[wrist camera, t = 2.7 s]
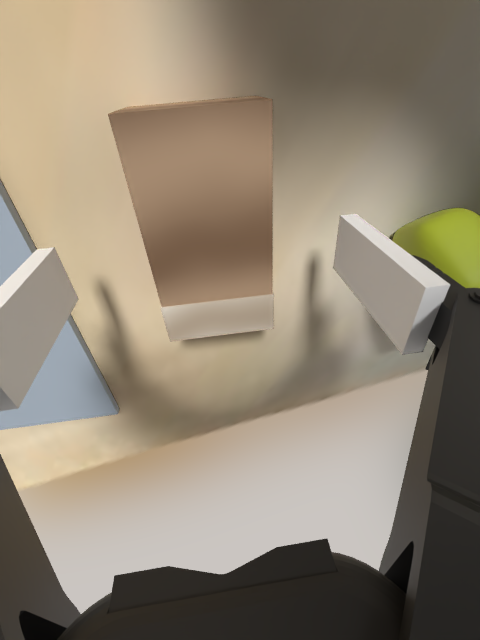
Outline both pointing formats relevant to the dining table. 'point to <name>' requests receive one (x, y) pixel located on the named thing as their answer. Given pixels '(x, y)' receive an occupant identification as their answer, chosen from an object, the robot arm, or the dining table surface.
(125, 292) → the dining table surface
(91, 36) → the dining table surface
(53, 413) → the slate mat
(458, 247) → the dumbbell
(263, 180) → the brown block
